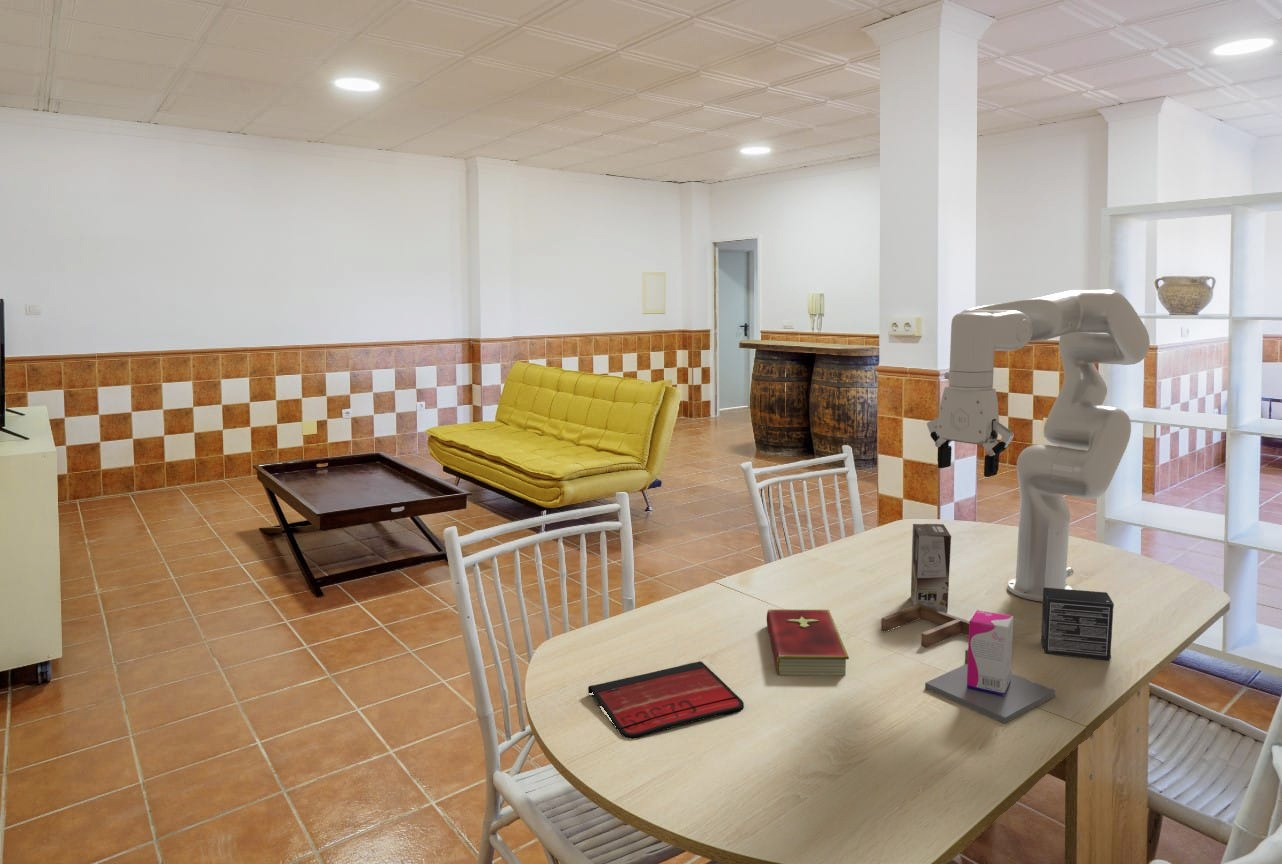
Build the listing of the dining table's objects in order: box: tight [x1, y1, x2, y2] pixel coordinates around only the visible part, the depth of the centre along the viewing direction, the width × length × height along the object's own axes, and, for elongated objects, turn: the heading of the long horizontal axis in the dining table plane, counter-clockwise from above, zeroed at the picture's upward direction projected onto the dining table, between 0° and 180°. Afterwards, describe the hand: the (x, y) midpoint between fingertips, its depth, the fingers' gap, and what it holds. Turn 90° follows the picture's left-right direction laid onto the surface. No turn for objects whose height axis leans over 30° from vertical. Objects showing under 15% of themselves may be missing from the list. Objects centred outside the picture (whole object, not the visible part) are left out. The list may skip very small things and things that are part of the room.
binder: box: [587, 660, 745, 740], centre depth 132 cm, size 16×2×21 cm
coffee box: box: [910, 523, 952, 614], centre depth 169 cm, size 9×6×16 cm
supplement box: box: [967, 609, 1014, 696], centre depth 132 cm, size 6×6×12 cm
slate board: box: [924, 663, 1057, 725], centre depth 133 cm, size 14×14×1 cm
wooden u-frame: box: [880, 604, 970, 665], centre depth 153 cm, size 12×19×2 cm, turn 35°
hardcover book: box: [766, 608, 850, 677], centre depth 150 cm, size 12×21×4 cm, turn 176°
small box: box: [1040, 588, 1115, 661], centre depth 147 cm, size 11×6×10 cm, turn 71°
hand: (966, 471), depth 155 cm, fingers open, 9 cm apart
